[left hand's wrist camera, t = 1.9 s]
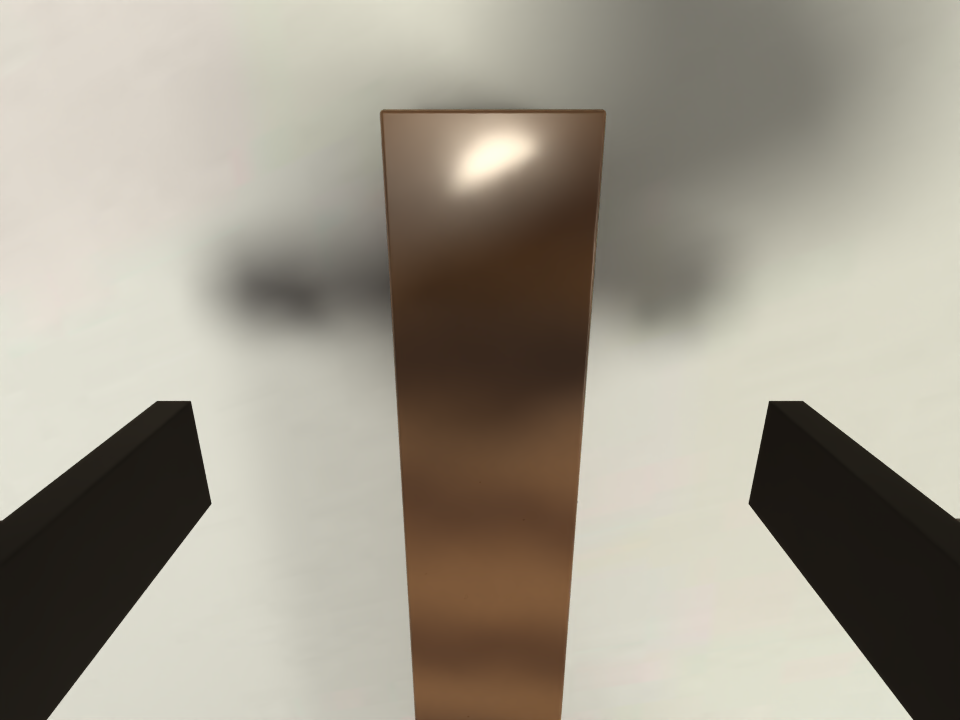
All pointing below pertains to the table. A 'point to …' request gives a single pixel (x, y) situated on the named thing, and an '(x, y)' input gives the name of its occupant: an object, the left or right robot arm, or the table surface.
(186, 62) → the table surface
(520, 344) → the post
